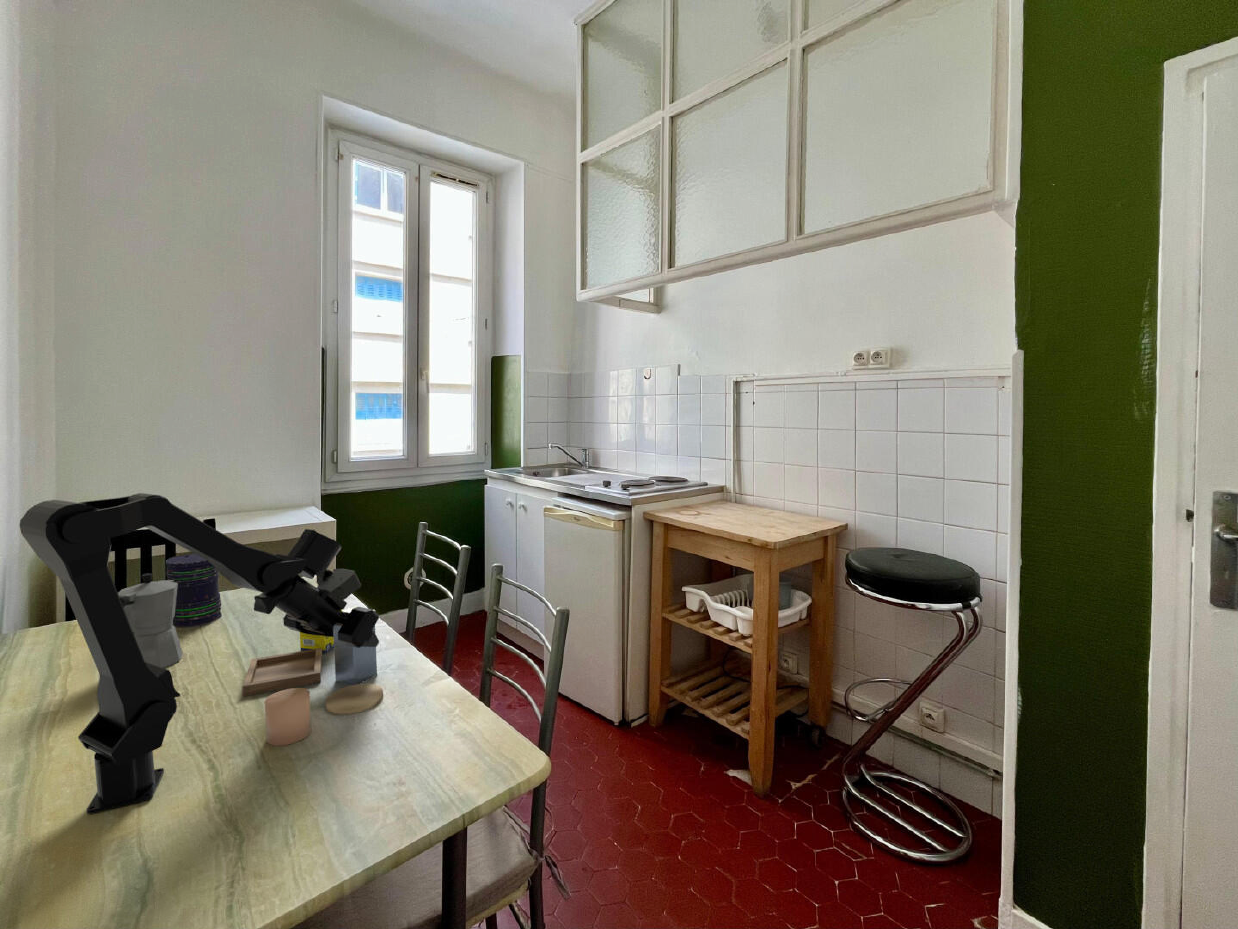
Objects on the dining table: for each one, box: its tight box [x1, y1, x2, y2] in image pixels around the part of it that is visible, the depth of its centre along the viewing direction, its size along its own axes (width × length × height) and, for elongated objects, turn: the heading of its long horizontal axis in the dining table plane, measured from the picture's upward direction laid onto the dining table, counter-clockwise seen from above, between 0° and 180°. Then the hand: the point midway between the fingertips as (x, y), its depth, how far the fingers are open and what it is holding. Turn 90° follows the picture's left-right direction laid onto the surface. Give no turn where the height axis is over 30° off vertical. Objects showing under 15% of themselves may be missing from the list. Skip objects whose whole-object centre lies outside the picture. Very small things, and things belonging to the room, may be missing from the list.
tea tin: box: [333, 605, 378, 686], centre depth 107 cm, size 5×5×13 cm
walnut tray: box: [242, 648, 323, 697], centre depth 108 cm, size 12×12×2 cm
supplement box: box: [299, 609, 343, 655], centre depth 120 cm, size 6×6×11 cm
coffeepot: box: [118, 572, 184, 669], centre depth 111 cm, size 15×9×18 cm, turn 6°
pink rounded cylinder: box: [264, 687, 312, 747], centre depth 89 cm, size 6×6×6 cm
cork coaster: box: [325, 683, 384, 716], centre depth 99 cm, size 9×9×1 cm
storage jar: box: [165, 552, 223, 628], centre depth 135 cm, size 10×10×15 cm
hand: (359, 639), depth 108 cm, fingers open, 9 cm apart
